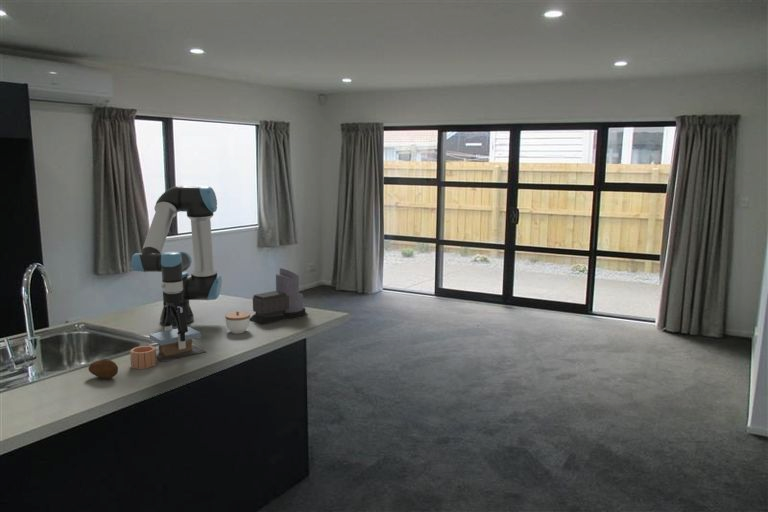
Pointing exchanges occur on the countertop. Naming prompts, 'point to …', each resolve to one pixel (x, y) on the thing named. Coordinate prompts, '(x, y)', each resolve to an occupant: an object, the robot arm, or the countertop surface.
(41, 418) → the countertop surface
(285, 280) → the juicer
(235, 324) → the lidded jar
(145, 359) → the bowl
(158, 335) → the cover board
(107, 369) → the potato
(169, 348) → the stand
